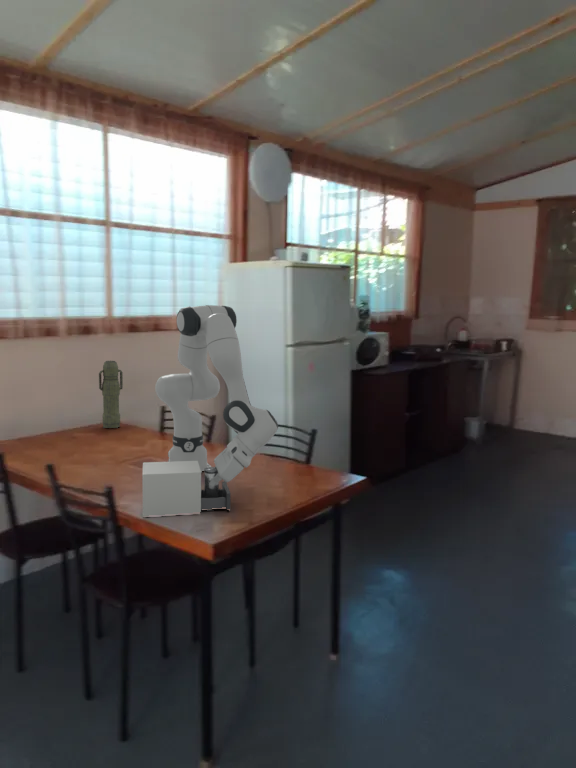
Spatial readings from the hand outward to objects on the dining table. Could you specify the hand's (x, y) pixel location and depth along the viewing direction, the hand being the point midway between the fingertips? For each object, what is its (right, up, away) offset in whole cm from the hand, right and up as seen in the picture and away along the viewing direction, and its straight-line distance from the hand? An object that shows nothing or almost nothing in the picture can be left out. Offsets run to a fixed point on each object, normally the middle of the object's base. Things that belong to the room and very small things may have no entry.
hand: (209, 481), depth 198 cm
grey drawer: (-3, -8, +1) cm, 9 cm away
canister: (+1, -5, +1) cm, 5 cm away
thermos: (-67, +9, +119) cm, 137 cm away
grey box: (-12, -9, -1) cm, 15 cm away
